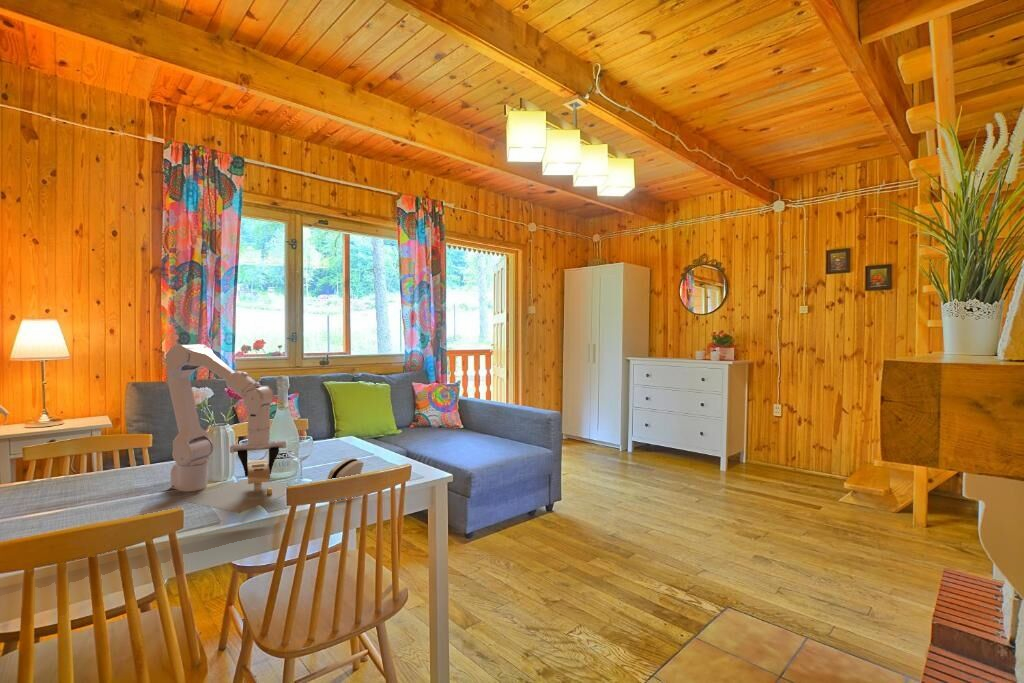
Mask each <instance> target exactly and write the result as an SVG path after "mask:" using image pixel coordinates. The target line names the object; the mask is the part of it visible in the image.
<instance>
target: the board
mask: <svg viewBox="0 0 1024 683" xmlns="http://www.w3.org/2000/svg"><path fill="white" fill-rule="evenodd" d="M287 486H288V485H286V484H280V483H274V482H271V481H270V482H261V483H252V484H248V478H245V479H241V480H238V481H235V482H232V483H230V484H227V485H223V486H221V487H217V488H214V489H210V490H208V491H204V492H201V493H198V494H195V495H192V496H188V497H186V498H183V499H180V500H179V501H182V502H187V503H191V504H194V505H199V506H204V507H210V508H213V509H218V510H223V511H229V512H232V513H236V514H237V513H238V514H240V513H243V512H245V511H248V510H250V509H252V508H256V507H258V506H260V505H265V504H266V503H269V502H271V501H274V500H276V499H279V498H281V497H284V496H286V495H285V488H286V487H287Z"/></svg>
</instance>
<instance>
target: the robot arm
mask: <svg viewBox="0 0 1024 683" xmlns="http://www.w3.org/2000/svg"><path fill="white" fill-rule="evenodd" d="M164 356H165V360H166V364H167V366H166V374H165V375H166V380H167V385H168V390H169V394H170V398H171V403H172V407H173V413H174V417H175V422H176V425H177V430H178V432H177V435H176V436H175V438H174V439H173V440H172V455H171V456H172V458H173V460H174V462H175V463H174V464H173V465H172V467H171V469H170V489H175V490H178V491H179V492H180V491H181V492H195V491H200V490H203V489H206V488H207V487H208V460H209V461H210V456H211V455H212V454H213V452H214V449H215V448H214V443H213V441H212V440H211V439H210V436H209V432H207V430H205V429H203V428H202V427H201V424H200V420H199V419H200V418H199V414H198V411H197V405H196V402H195V396H194V392H193V387H192V383H191V378H190V377H191V376H192V374H193V373H194V372H195V371H196V370H197V369H199V368H200V367H204V368H206V369H207V370H209V371H210V372H212V373H213V374H215V375H217V377H220V378H221V379H223V380H224V381H225V385H226V387H227V388H228V389H230V390H231V391H232V392H234V393H235V394H237V396H239V397H240V398H242V399H243V404H244V405H245V407H246V412H247V442H243V443H235V444H230V445H229V454H233V453H237V456H238V459H239V461H240V462H241V464H242V467H243V471H244V477H247V478H248V468H247V461H248V459H249V458H248V452H249V451H261V450H268V465H269V469H270V475H271V474H272V469H273V466H274V463H275V461H276V459H277V456H278V455H279V453H280V449H286V448H287V440H270V436H271V435H270V432H271V431H270V430H271V429H270V428H271V427H270V425H271V423H270V422H271V419H270V418H271V404H272V403H273V402H274V400H275V392H274V391H273V389H272V388H271V387H270V386H268V385H261V383H260V382H259V381H255V380H254V379H253V378H252V377H250V376H249V373H248V372H246V371H242V370H241V371H240V370H239V371H235V370H234V369H232V368H231V367H230V366H229V365H228V364H227V363H225V362H224V361H223V360H222V359H220V358H219V357H218V356H217V355H216V354H215V353H214V351H213V349H211V348H210V347H208V346H207V345H206V344H203V343H196V344H175V345H173V346H171V347H170V348H169V350H167V352H166V353H165V354H164Z"/></svg>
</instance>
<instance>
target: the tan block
mask: <svg viewBox="0 0 1024 683" xmlns="http://www.w3.org/2000/svg"><path fill="white" fill-rule="evenodd" d="M268 464H269V460H268V459H267V458H266V459H255V460H247V468H248V476H247V479H248V484H252V483H261V482H270V483H271V474H270V469H269V465H268Z"/></svg>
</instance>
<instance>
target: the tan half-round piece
mask: <svg viewBox="0 0 1024 683" xmlns="http://www.w3.org/2000/svg"><path fill="white" fill-rule="evenodd" d="M363 467H364V462H363V461H361V460H358V459H357V458H355V457H349V458H345V459H344V460H342V461H340V462H339V463H337V464H336V465H335V466H334V467H333V468H331V469H330V472H329V474H328V475H327V478H326V480H327V479H332V478H339V477H345V476H351V475H356V474H360V475H361V472H362V470H363Z"/></svg>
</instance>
